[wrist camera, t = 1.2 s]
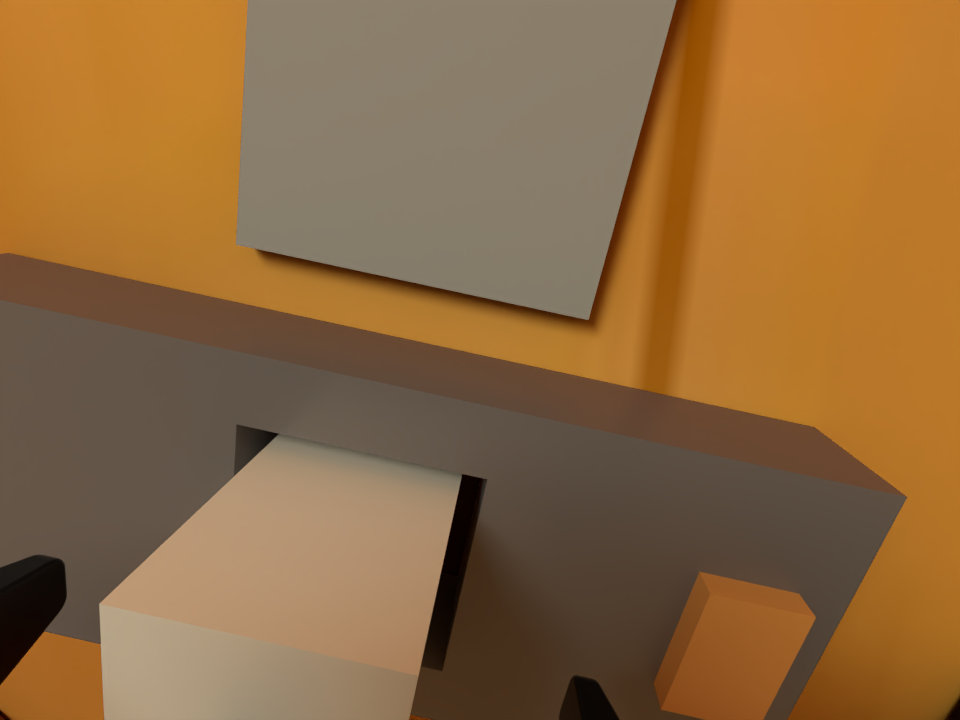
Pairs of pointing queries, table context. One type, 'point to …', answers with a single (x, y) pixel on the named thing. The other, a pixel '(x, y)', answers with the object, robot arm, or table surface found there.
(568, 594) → the grey flat block
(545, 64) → the grey square plate
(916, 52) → the table surface
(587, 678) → the robot arm
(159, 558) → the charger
